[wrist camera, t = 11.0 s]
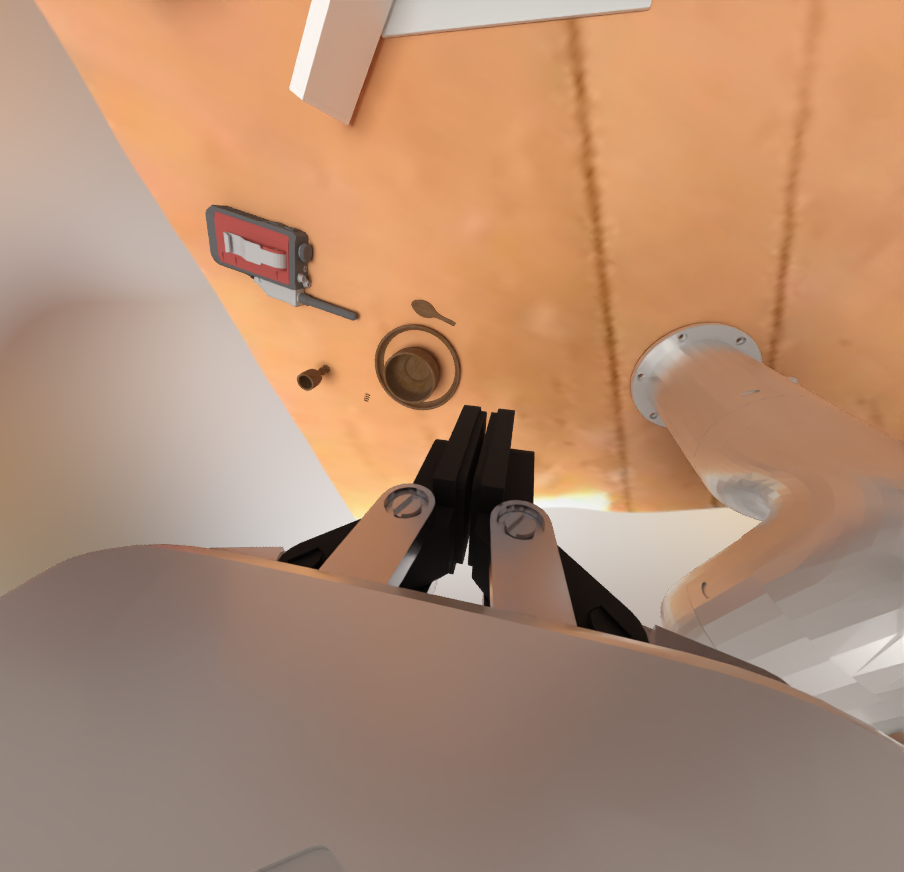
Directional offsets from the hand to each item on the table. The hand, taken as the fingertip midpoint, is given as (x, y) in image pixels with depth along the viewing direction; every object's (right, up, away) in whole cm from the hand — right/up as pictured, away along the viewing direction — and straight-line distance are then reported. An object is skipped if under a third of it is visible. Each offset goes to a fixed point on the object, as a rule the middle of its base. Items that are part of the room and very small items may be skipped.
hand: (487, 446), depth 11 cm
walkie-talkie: (-22, +23, +31) cm, 44 cm away
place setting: (-9, +12, +35) cm, 38 cm away
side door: (-8, +35, +18) cm, 41 cm away
